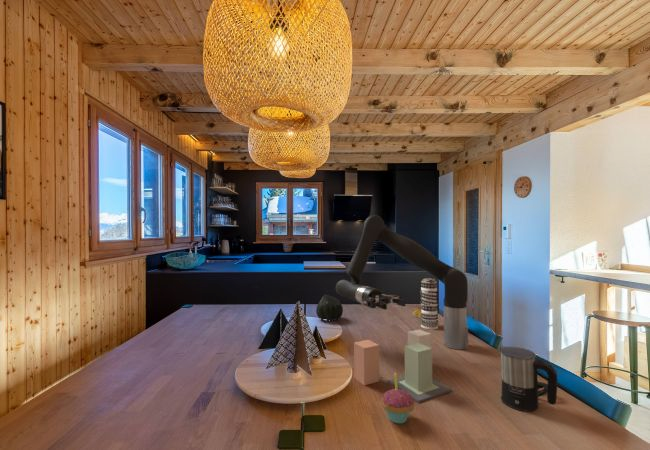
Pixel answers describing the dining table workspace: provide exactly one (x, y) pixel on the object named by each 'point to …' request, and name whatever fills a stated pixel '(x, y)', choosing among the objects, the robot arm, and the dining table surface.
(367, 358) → the terracotta block
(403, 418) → the cupcake
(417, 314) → the bread roll
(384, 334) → the dining table surface
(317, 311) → the squash
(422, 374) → the sage block
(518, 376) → the milk frother
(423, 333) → the cream block
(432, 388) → the slate mat
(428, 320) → the decorative candle
